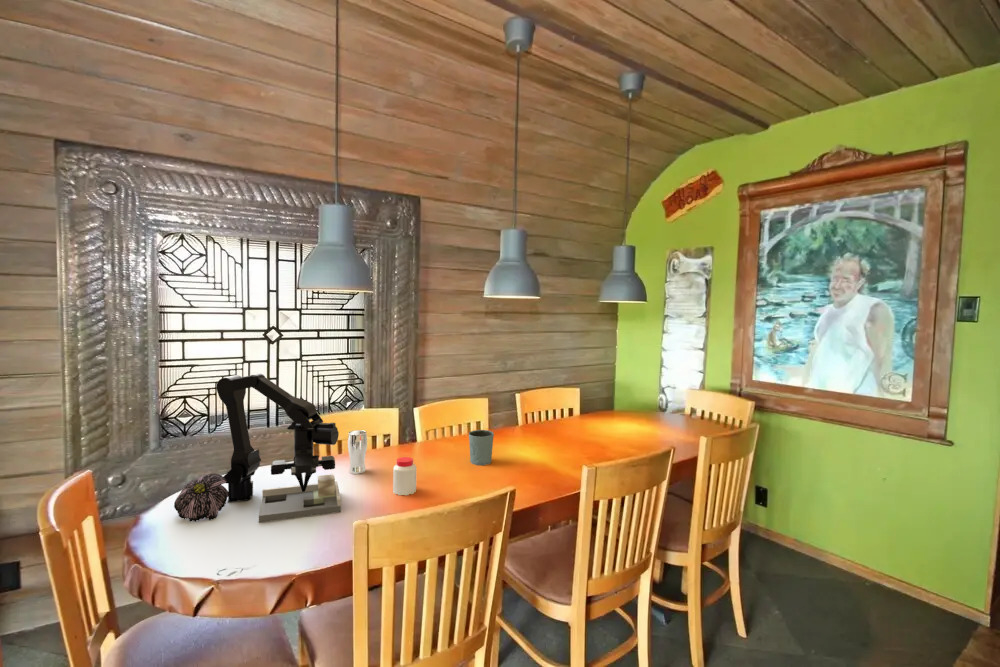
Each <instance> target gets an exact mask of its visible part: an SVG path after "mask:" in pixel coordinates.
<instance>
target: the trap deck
mask: <svg viewBox="0 0 1000 667" xmlns="http://www.w3.org/2000/svg"><path fill="white" fill-rule="evenodd" d="M338 483H339V482H338V480H337V481H336V480H335V495H327V496H318V482H316V483H308V484H307V487H306V490H305V492H302V490H301V487H300V484H299V485H292V486H291V485H289V486H282V487H271V488H263V489H262V496H261V497H262V498H261V502H260V506H259V508H260V509H259V512H258V523H259V524H260V523H267V522H269V523H270V522H275V521H282V520H283V521H284V520H290V519H299V518H305V517H314V516H321V515H328V514H337V513H341V511H342V503H341V502H342V500H341V494H340V489H339V484H338Z"/></svg>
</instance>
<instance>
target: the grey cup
mask: <svg viewBox="0 0 1000 667" xmlns="http://www.w3.org/2000/svg"><path fill="white" fill-rule="evenodd" d="M494 435H495V433H494V432H493V431H492V430H487V429H477V430H476V429H475V430H471V431H469V432H468V441H469V455H470V456H469V459H470V460H469V461H470V463H471V464H472V465H474V464H475V465H474V466H487V464H488V465H490V464H491V463H492V459H493V458H492V457H493V456H492V455H493V445H494V444H493V443H494V437H495V436H494Z"/></svg>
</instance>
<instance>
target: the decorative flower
mask: <svg viewBox="0 0 1000 667" xmlns="http://www.w3.org/2000/svg"><path fill="white" fill-rule="evenodd" d="M223 476H224V475H221V474H219V473H207V474H203V475H201V476H200V477H197V478H195V479H192V480H190V481H189V482H187V483H186V484H185V485H184V486H183V488H182V489H181V491H180V493H179V494H178V495H177V497H176V499H175V501H174V505H173V507H174V510H175V511H176V513H177V514H178V515H177V516H178V517H179V518H180V519H182V518H184V519H183V520H187V519H188V521H189V523H191V522H194V523H196V522H197V521H198V522H200V520H203V519H207V520H208V521H212V520H215V519H216V518H217V517H218V514H219V512H221V511H222V509H223V508H224V507H226V506H225V505H226V504H227V500H228V496H229V492H228V488H226V487H225V486H224V485H223V484H227V483H226V482H227V480H226V479H225V478H224V477H223ZM185 518H186V519H185ZM214 518H215V519H214ZM211 519H212V520H211Z"/></svg>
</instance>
